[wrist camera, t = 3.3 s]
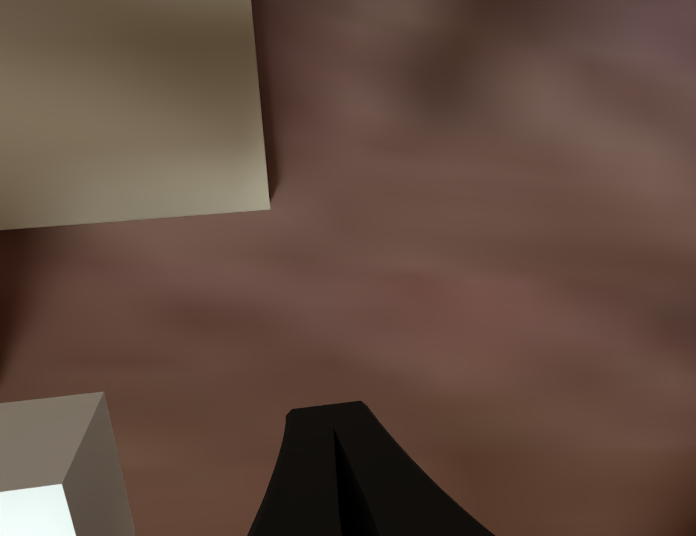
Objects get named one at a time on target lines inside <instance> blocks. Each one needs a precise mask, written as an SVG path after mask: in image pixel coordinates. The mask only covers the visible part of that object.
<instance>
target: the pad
mask: <svg viewBox="0 0 696 536" xmlns="http://www.w3.org/2000/svg"><path fill="white" fill-rule="evenodd" d="M268 209H270V202H269V191H268V180H267V169H266V158H265V147H264V136H263V125H262V114H261V103H260V92H259V82H258V71H257V60H256V49H255V38H254V27H253V16H252V5H251V0H0V230H10V229H23V228H36V227H49V226H62V225H75V224H87V223H100V222H113V221H126V220H139V219H152V218H165V217H178V216H191V215H204V214H217V213H230V212H242V211H255V210H268Z"/></svg>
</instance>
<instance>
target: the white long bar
mask: <svg viewBox="0 0 696 536" xmlns="http://www.w3.org/2000/svg"><path fill="white" fill-rule="evenodd" d="M134 534H135V529H134V524H133V520H132V515H131V511H130V506H129V502H128V497H127V493H126V488H125V484H124V479H123V475H122V470H121V466H120V461H119V457H118V452H117V448H116V444H115V439H114V435H113V430H112V426H111V421H110V417H109V412H108V408H107V403H106V399H105V394H104V392H97V393H88V394H79V395H70V396H61V397H53V398H44V399H35V400H26V401H17V402H9V403H0V536H134Z"/></svg>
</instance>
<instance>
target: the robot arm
mask: <svg viewBox="0 0 696 536" xmlns="http://www.w3.org/2000/svg"><path fill="white" fill-rule="evenodd" d="M247 536H495V535H494V534H493V533H491V532H490V531H489V530H487V529H486V528H485V527H484V526H483V525H481V524H480V523H479V522H478V521H477V520H475V519H474V518H473V517H472V516H471V515H470V514H468V513H467V512H466V511H465V510H464V509H463V508H462V507H461V506H459V505H458V504H457V503H456V502H455V501H454V500H453V499H452V498H451V497H450V496H449V495H447V494H446V493H445V492H444V491H443V490H442V489H441V488H440V487H439V486H438V485H437V484H436V483H435V482H434V481H433V480H432V479H431V478H430V477H429V476H428V475H427V474H426V473H425V472H424V471H423V470H422V469H421V468H420V467H419V466H418V465H417V464H416V463H415V462H414V461H413V460H412V459H411V458H410V457H409V456H408V455H407V453H406V452H405V451H404V450H403V449H402V448H401V447H400V446H399V445H398V443H397V442H396V441H395V440H394V439H393V438H392V436H391V435H390V434H389V433H388V432H387V431H386V429H385V428H384V427H383V426H382V425H381V423H380V422H379V421H378V420H377V418H376V417H375V416H374V414H373V413H372V412H371V411H370V409H369V408H368V406H367V405H365V404H364V403H363V402H362V401H355V402H347V403H338V404H330V405H322V406H314V407H306V408H297V409H292V410H291V411H290V412H289V413H288V414H287V415H286V425H285V432H284V437H283V441H282V445H281V449H280V452H279V456H278V459H277V463H276V465H275V468H274V471H273V474H272V477H271V480H270V482H269V485H268V488H267V491H266V494H265V496H264V499H263V501H262V503H261V506H260V508H259V510H258V512H257V515H256V517H255V519H254V522H253V524H252V526H251V528H250V531H249V533H248V535H247Z"/></svg>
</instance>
